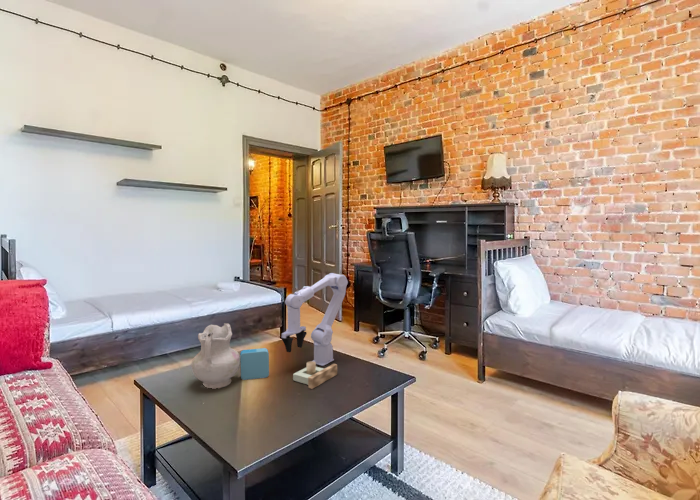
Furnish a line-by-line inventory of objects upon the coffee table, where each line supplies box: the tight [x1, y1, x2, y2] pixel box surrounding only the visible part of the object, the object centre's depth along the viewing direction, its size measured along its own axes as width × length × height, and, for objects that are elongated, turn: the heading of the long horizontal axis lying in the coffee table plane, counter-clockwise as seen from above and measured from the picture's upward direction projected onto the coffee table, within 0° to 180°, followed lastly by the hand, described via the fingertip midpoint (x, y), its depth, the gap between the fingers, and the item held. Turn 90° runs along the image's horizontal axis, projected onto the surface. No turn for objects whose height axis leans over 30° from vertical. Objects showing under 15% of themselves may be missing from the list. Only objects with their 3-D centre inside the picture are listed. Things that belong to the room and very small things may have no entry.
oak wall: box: [307, 363, 338, 390], centre depth 164 cm, size 18×2×4 cm, turn 147°
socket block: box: [292, 366, 325, 385], centre depth 167 cm, size 12×10×3 cm
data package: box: [239, 347, 270, 381], centre depth 168 cm, size 12×4×12 cm, turn 106°
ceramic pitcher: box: [190, 322, 241, 390], centre depth 160 cm, size 22×20×25 cm
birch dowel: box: [306, 360, 317, 375], centre depth 166 cm, size 4×4×7 cm
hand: (294, 349), depth 176 cm, fingers open, 7 cm apart
